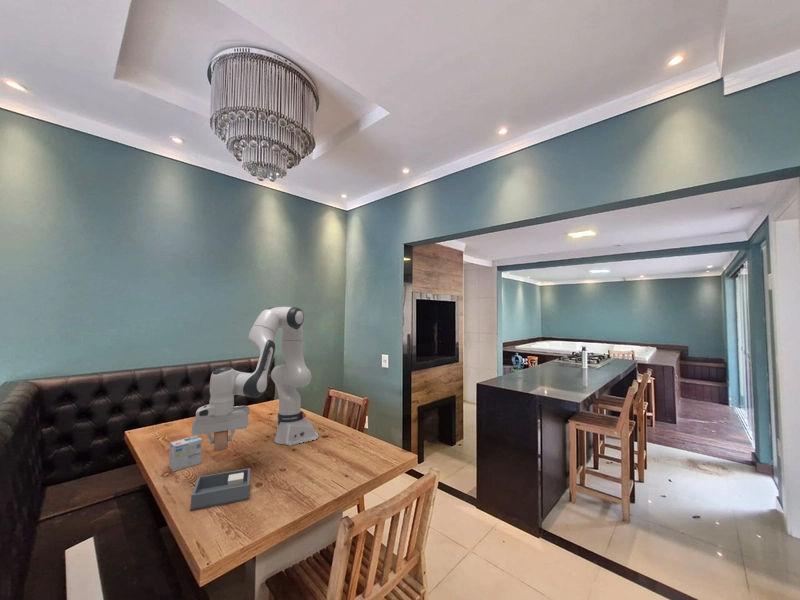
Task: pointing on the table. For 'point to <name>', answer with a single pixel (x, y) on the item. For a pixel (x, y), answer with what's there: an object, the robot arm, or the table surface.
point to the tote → (219, 490)
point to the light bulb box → (185, 453)
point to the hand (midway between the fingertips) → (220, 441)
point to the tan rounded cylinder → (220, 440)
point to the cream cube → (235, 479)
